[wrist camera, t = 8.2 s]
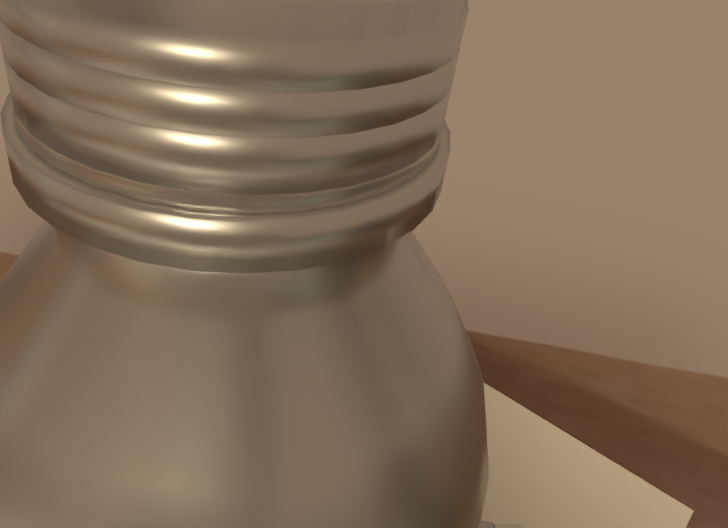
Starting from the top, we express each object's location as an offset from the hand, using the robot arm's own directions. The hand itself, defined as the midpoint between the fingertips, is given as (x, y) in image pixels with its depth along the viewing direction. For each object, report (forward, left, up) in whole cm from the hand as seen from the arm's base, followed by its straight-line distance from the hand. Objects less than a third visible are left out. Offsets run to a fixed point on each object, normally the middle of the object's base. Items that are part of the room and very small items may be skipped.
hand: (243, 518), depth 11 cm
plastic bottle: (0, -1, -12) cm, 12 cm away
